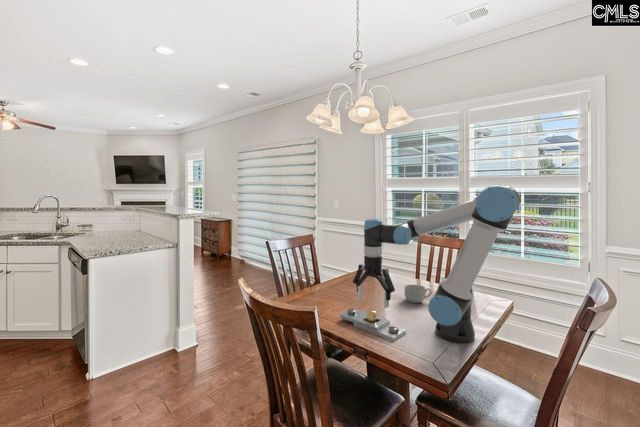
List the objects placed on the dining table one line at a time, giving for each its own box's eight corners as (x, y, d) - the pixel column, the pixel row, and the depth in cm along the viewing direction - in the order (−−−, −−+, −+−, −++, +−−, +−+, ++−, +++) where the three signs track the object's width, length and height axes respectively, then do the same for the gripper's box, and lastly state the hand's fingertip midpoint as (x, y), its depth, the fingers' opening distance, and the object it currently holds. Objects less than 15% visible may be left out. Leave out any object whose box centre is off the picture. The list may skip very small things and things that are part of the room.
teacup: (401, 302, 171) (402, 287, 170) (406, 296, 180) (407, 282, 180) (429, 307, 164) (429, 292, 164) (432, 300, 174) (433, 286, 173)
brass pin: (377, 326, 143) (378, 310, 142) (373, 329, 139) (373, 313, 139) (369, 323, 145) (370, 308, 144) (365, 326, 142) (365, 311, 141)
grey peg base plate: (406, 333, 136) (406, 323, 136) (393, 341, 129) (393, 331, 129) (353, 314, 156) (353, 305, 155) (339, 320, 148) (339, 311, 148)
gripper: (403, 258, 133) (403, 308, 135) (355, 250, 151) (355, 294, 152) (393, 261, 128) (393, 313, 130) (344, 252, 145) (345, 299, 147)
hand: (372, 303), depth 141 cm, fingers open, 13 cm apart
